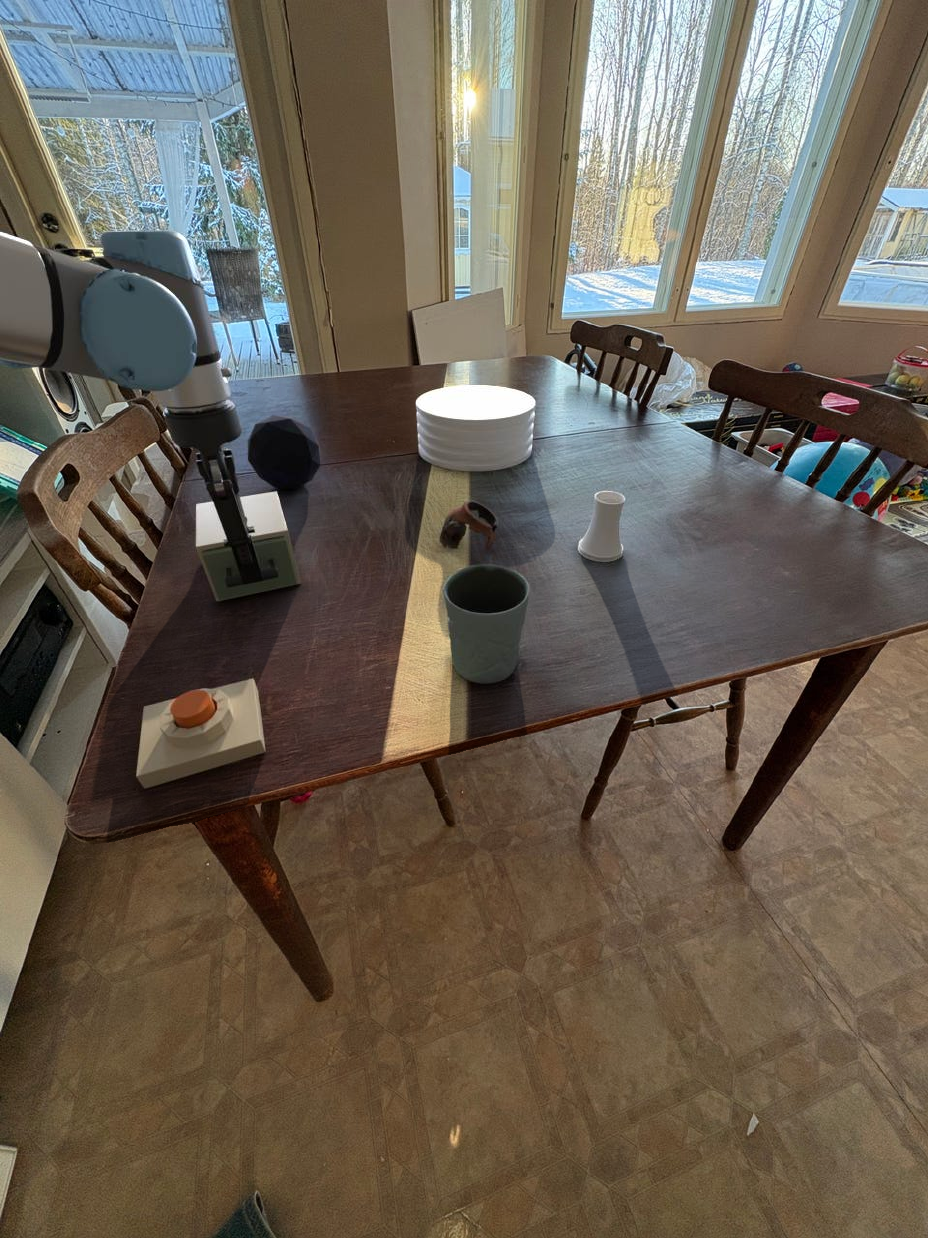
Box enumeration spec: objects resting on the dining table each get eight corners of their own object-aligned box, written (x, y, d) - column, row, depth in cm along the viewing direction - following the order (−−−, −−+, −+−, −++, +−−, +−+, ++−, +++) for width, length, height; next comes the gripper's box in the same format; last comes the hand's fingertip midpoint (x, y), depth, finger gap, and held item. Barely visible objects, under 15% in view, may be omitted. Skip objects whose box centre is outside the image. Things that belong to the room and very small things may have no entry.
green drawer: (300, 598, 77) (289, 554, 72) (220, 616, 73) (202, 571, 68) (286, 543, 90) (275, 502, 85) (216, 556, 86) (201, 514, 81)
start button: (175, 733, 54) (169, 722, 52) (176, 706, 56) (170, 695, 55) (216, 722, 55) (211, 711, 54) (215, 696, 58) (210, 685, 56)
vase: (607, 536, 93) (617, 484, 86) (630, 557, 87) (643, 503, 81) (570, 543, 91) (577, 491, 84) (591, 565, 85) (601, 510, 79)
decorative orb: (239, 452, 111) (232, 405, 98) (306, 439, 117) (308, 394, 104) (261, 508, 109) (257, 469, 96) (329, 492, 115) (334, 453, 102)
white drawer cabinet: (300, 583, 81) (287, 530, 75) (216, 601, 78) (195, 546, 72) (289, 540, 92) (276, 490, 86) (214, 555, 88) (195, 503, 82)
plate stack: (434, 427, 140) (432, 382, 133) (536, 433, 135) (540, 387, 128) (404, 466, 118) (400, 415, 111) (525, 475, 114) (529, 423, 107)
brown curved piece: (450, 527, 97) (473, 492, 92) (487, 559, 95) (512, 526, 91) (416, 540, 87) (440, 501, 82) (457, 576, 85) (483, 539, 81)
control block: (144, 789, 52) (128, 765, 50) (151, 719, 60) (137, 695, 57) (265, 752, 56) (256, 728, 53) (258, 690, 63) (249, 667, 61)
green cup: (514, 634, 71) (520, 561, 64) (530, 686, 64) (539, 610, 56) (442, 639, 70) (439, 566, 63) (449, 693, 63) (447, 617, 55)
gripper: (235, 414, 53) (286, 599, 68) (231, 386, 63) (276, 553, 77) (156, 424, 51) (226, 612, 66) (164, 393, 61) (223, 563, 75)
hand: (253, 580), depth 71 cm, fingers closed
